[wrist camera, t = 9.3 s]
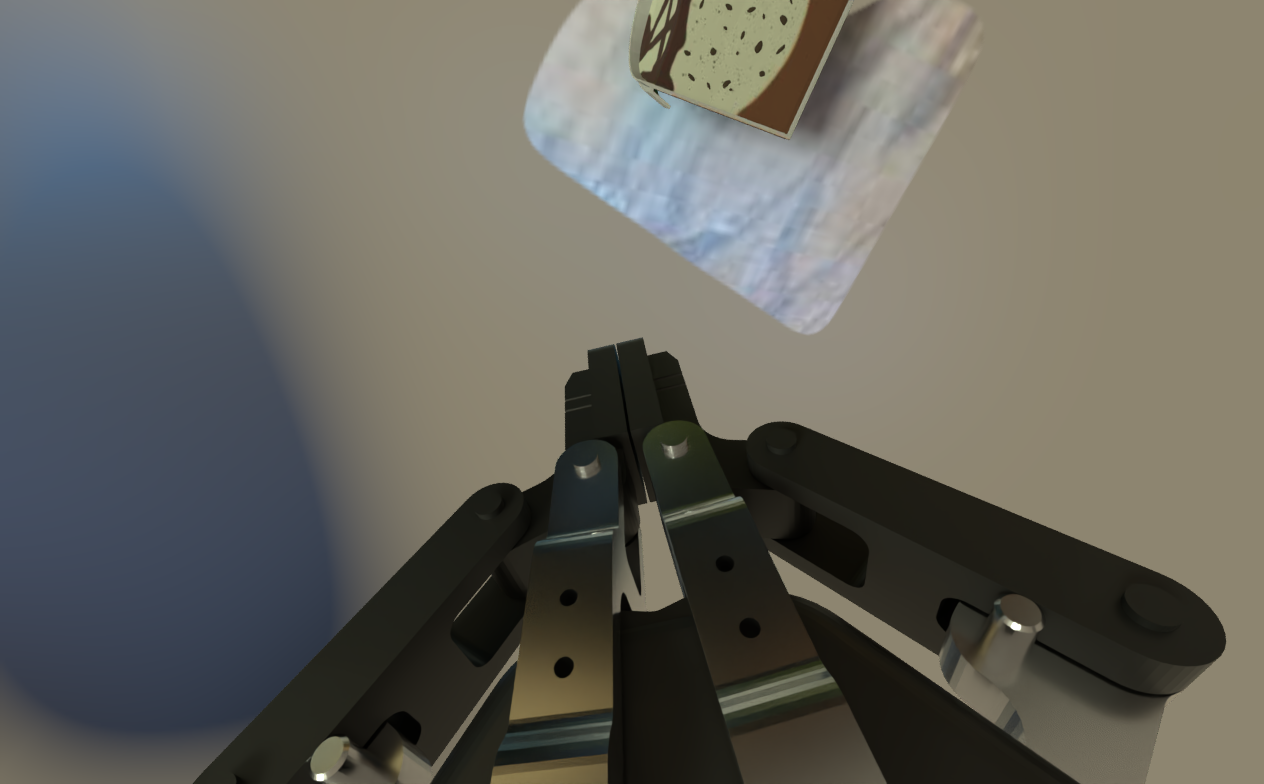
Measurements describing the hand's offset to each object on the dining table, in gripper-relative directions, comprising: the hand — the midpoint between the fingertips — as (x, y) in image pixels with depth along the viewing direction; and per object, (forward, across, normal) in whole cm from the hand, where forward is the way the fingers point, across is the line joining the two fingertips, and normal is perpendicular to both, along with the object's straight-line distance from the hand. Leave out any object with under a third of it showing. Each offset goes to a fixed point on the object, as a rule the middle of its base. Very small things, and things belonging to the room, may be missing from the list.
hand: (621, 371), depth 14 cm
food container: (+25, -14, -3) cm, 29 cm away
